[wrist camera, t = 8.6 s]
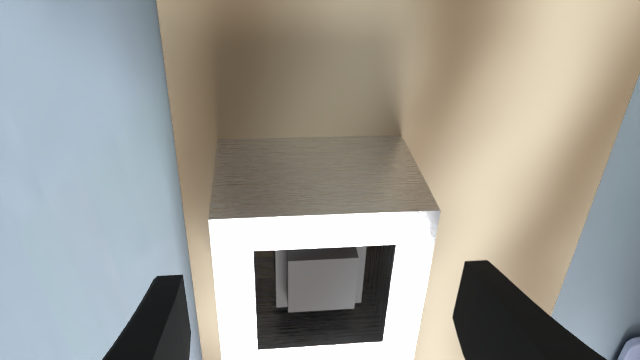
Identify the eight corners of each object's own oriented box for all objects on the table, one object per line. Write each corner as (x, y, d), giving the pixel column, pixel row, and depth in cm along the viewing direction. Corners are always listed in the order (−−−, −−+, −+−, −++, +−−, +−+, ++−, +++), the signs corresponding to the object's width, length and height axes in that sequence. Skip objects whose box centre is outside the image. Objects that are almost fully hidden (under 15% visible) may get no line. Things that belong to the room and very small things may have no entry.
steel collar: (401, 135, 16) (440, 210, 13) (384, 272, 19) (412, 362, 16) (217, 139, 16) (208, 219, 13) (228, 280, 19) (223, 375, 15)
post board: (647, -33, 16) (800, 16, 11) (512, 369, 25) (567, 480, 21) (159, -38, 14) (119, 16, 10) (211, 392, 24) (203, 516, 19)
